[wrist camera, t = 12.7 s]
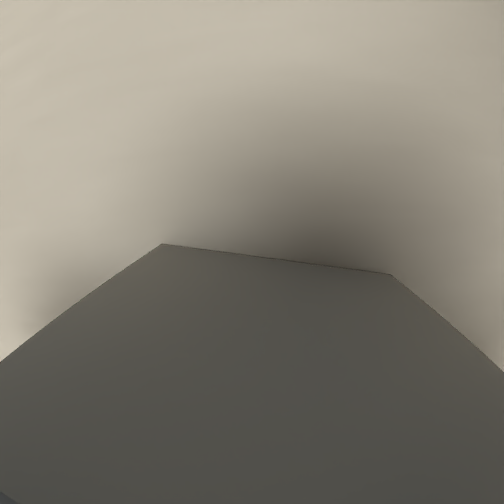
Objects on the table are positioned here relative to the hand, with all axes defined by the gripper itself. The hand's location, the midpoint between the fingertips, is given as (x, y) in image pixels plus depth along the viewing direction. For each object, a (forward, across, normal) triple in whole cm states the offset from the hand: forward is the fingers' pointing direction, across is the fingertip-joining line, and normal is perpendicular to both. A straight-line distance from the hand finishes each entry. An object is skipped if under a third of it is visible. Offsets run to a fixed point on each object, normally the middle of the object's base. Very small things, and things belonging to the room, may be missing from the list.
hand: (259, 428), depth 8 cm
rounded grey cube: (+3, 0, 0) cm, 3 cm away
